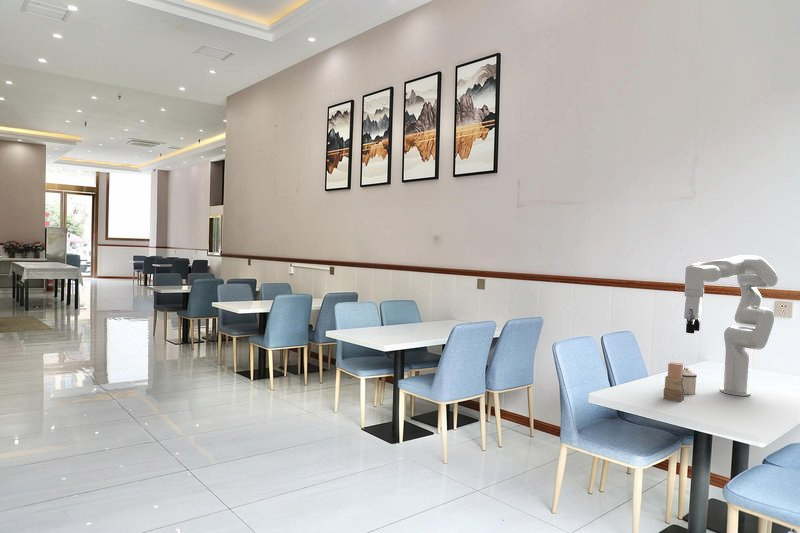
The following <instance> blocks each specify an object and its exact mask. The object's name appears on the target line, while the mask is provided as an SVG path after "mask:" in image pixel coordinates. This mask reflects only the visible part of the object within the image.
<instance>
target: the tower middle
mask: <svg viewBox="0 0 800 533" xmlns="http://www.w3.org/2000/svg"><path fill="white" fill-rule="evenodd" d="M664 378H665V379H664V388H667V389H673V390H679V391H680V390H681V389H683V378H684V377H682V378H681V379H678V378H671V377H668V375H665V377H664Z"/></svg>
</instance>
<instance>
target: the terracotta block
mask: <svg viewBox="0 0 800 533" xmlns="http://www.w3.org/2000/svg"><path fill="white" fill-rule="evenodd" d="M683 369H684V364H683V363H680V362H674V361H670V362H668V364H667V376H668V377H671V378H678V379H681V378H682V374H683Z"/></svg>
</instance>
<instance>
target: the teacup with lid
mask: <svg viewBox="0 0 800 533" xmlns="http://www.w3.org/2000/svg"><path fill="white" fill-rule="evenodd" d="M682 377H684V378H683V388H685V390H684V395H687V394H688V395H690V396H692V395H695V394H696V390H697V389H696V385H697V373H695V372H692V371H691V370H690V369H689V367H684V366H683V374H682Z"/></svg>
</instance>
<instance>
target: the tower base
mask: <svg viewBox="0 0 800 533" xmlns="http://www.w3.org/2000/svg"><path fill="white" fill-rule="evenodd" d="M684 390H685V388H683V389H681V390H680V391H679V390H673V389H667V388H665V387H664V388H663V400H665V399H666V401H671V402H677V403H682V402H683V401H684V400H685V394H684Z"/></svg>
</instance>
